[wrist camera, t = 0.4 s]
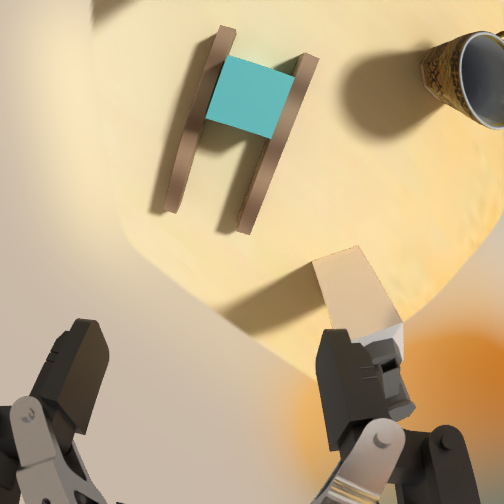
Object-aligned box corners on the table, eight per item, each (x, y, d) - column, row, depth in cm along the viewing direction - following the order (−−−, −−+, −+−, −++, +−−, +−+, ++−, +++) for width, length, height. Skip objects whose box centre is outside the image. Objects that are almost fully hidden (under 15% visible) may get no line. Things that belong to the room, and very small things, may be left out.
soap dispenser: (355, 230, 37) (436, 368, 19) (365, 282, 42) (426, 416, 23) (307, 246, 39) (355, 399, 20) (322, 297, 43) (363, 439, 24)
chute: (222, 30, 25) (220, 25, 23) (312, 60, 27) (319, 58, 25) (168, 199, 35) (162, 209, 32) (249, 223, 37) (249, 235, 34)
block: (230, 60, 27) (227, 55, 22) (285, 78, 28) (294, 77, 23) (212, 112, 30) (205, 118, 25) (266, 129, 31) (271, 139, 26)
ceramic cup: (448, 129, 30) (499, 149, 22) (392, 76, 28) (442, 79, 19) (488, 60, 25) (541, 67, 16) (439, 5, 22) (490, -5, 14)
